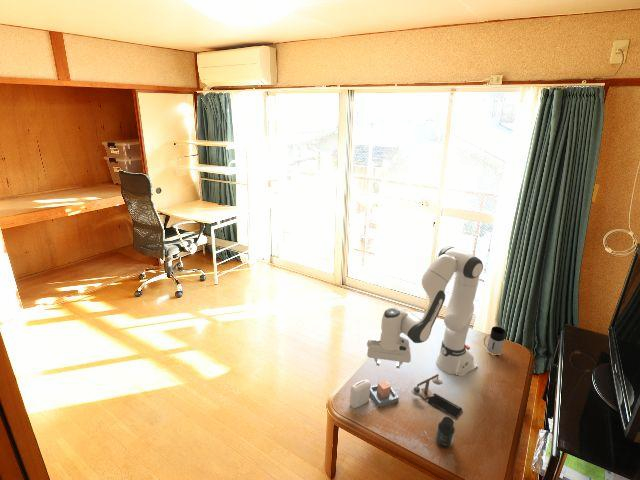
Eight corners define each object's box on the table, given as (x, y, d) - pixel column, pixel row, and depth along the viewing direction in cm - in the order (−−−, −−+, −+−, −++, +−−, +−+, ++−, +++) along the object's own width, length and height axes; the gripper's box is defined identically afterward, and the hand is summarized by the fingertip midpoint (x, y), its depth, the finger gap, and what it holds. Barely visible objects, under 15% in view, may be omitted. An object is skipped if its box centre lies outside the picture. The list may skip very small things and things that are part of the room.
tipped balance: (435, 386, 191) (438, 369, 187) (442, 394, 186) (446, 377, 182) (408, 394, 186) (410, 376, 181) (415, 402, 180) (417, 385, 176)
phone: (433, 392, 186) (463, 408, 177) (433, 394, 186) (462, 410, 177) (426, 401, 180) (456, 418, 171) (426, 403, 181) (456, 420, 172)
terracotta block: (384, 389, 186) (385, 380, 184) (389, 395, 183) (390, 386, 180) (376, 392, 184) (377, 383, 182) (382, 398, 181) (383, 389, 178)
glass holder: (504, 354, 217) (510, 332, 212) (486, 359, 212) (491, 338, 207) (493, 345, 225) (498, 324, 219) (475, 350, 220) (480, 329, 214)
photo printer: (364, 395, 184) (366, 375, 179) (370, 401, 180) (372, 381, 176) (348, 404, 178) (349, 383, 174) (353, 410, 175) (355, 389, 170)
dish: (386, 385, 190) (387, 381, 190) (398, 401, 181) (398, 397, 180) (367, 390, 187) (368, 386, 186) (378, 407, 177) (379, 403, 176)
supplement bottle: (455, 446, 158) (459, 425, 154) (442, 450, 156) (446, 429, 152) (444, 433, 164) (449, 412, 160) (432, 437, 162) (436, 417, 158)
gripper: (366, 342, 171) (365, 367, 176) (412, 348, 167) (409, 373, 172) (367, 335, 177) (366, 359, 181) (411, 340, 173) (409, 364, 177)
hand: (387, 366), depth 176 cm, fingers open, 8 cm apart
